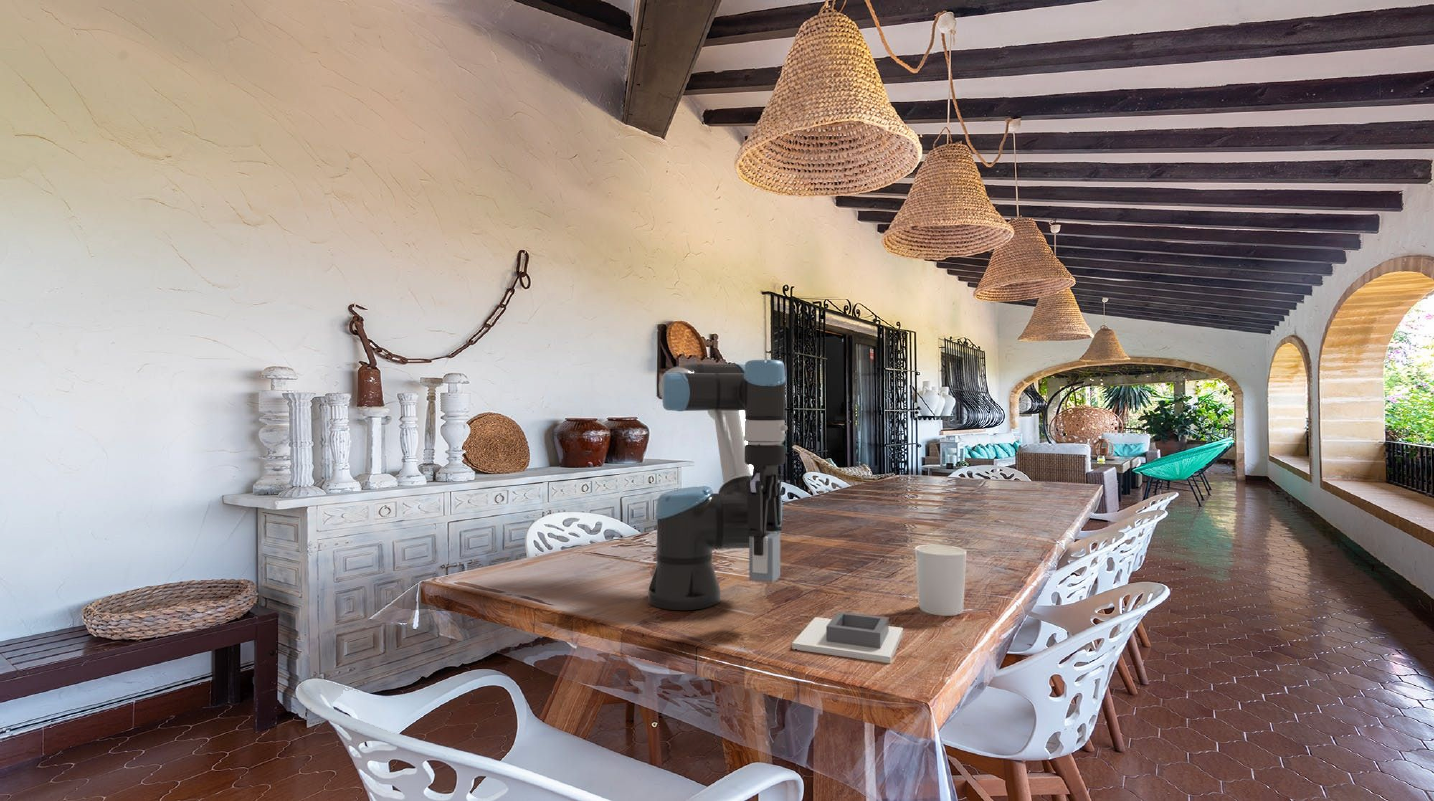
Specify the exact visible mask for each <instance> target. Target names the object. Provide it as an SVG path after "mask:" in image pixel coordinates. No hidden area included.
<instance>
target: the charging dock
mask: <svg viewBox="0 0 1434 801" xmlns="http://www.w3.org/2000/svg"><path fill="white" fill-rule="evenodd" d="M889 621H890V620H889V616H888V617H886V616H878V615H869V614H863V613H853V612H847V611H837V612H836V614H834V616H833V617H832V618H825V617H818V616H816V617H814V618H813V619H812V620H811V622H810V623H808V625H806V627H805V628H804V629H803V630H802V631H801V633H800V634H799V635H798V636H797V637H796V638H795V639H794V640H793V641H792V643H791V645H792V646H791V649H792V650H795V649H797V650H798V651H803V652H810V653H817V654H824V655H830V656H831V655H832V656H836V657H838V656H839V657H845V658H851V659H857V660H866V661H871V662H879V663H884V664H891V662H892V661H893V659H894V655H895V654H896V651H897V649H898V647H899V645H900V642H901V640H902V637H903V635H904V628H903V627H900V626H899V627H897V626H890V625H889V624H890V622H889ZM797 650H796V651H797Z"/></svg>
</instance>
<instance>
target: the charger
mask: <svg viewBox="0 0 1434 801" xmlns="http://www.w3.org/2000/svg"><path fill="white" fill-rule="evenodd" d="M765 537H768V573H767V574H765V573H755V572H753V569H752V537H749V548H748V550H749V552H748V553H749V554H748V555H749V556H748V558H749V560H748V563H749V564H748V569H749V570H748V572H749V573H748V577H749V581H751V582H752V581H754V582H763V583H770V584H771V583H774V582H776V581H777V580H778V579H780V577H781V533H780V534H774V533H766V536H765Z"/></svg>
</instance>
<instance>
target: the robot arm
mask: <svg viewBox="0 0 1434 801" xmlns="http://www.w3.org/2000/svg"><path fill="white" fill-rule="evenodd" d="M786 381H787V377H786V370H785V364H784V362H783V361H782V360H780V359H779V360H778V359H751V360H748V361H746V362H745V364H738V363H737V362H733V363H688V364H681V365H677V366H674V367H672V368H669V369H668V370H666V371H665V372H663V374H662V375H661V376H660V378H659V381H658V382H659V383H658V391H659V395H660V397H661V399H662V400H661V402H662V407H663V409H664V410H666V411H672V412H673V411H674V412H690V411H692V412H693V411H694V412H697V411H698V412H699V411H707V413H708V415H709V417H710V418H711V419H712V420H714V424H715V430H716V431H715V432H716V439H717V445H718V447H717V448H718V453H719V460H720V467H721V475H722V482H723V484H722V485H721V486H720V487H719V489H718V492H717V493H716V492H715V493H714V492H713V490H712V487H711V486H707V485H705V486H704V485H703V486H701V485H700V486H690V487H683V488H677V489H672V490H669V491H666V492H664V493H662V494H660V495H659V497H658V498H657V501H656V514H655V519H656V564H655V567H654V571H653V574H652V578H651V581H650V583H649V586H648V587H649V588H648V591H647V592H648V593H647V596H648V597H647V601H648V603H649V604H650V605H651V606H653V607H656V608H659V609H662V610H663V609H664V610H670V611H693V610H694V611H695V610H702V609H706V608H710V607H713V606H715V605H717V604H718V603H720V601H721V587H720V584H719V581H718V578H717V573H716V572H715V567H714V565H713V550H732V549H733V550H735V549H736V550H737V549H749V537H752V569H753V572H755V573H765V574H767V573H768V537H765V536H766V533H774V534H780V535H781V531H782V529H783V528H782V522H783V499H782V487H781V486H782V478H783V476H782V474H781V473H780V474H779V473H778V471H777V466H783V465H784V464H785V463H786V446H785V445H784V444H783V442H785V439H786V436H785V435H786V431H787V430H788V425H786V422H785V421H786Z"/></svg>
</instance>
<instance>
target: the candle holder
mask: <svg viewBox="0 0 1434 801" xmlns="http://www.w3.org/2000/svg"><path fill="white" fill-rule="evenodd" d="M914 552H915V565H916V567H915V568H916V582H917V585H916V586H917V596H918V597H917V599H918V608H919V610H921V611H922V612H923V613H926V614H929V615H934V616H941V617H942V616H943V617H954V616H959V615H961V614H963V612H964V603H965V602H964V600H965V587H966V586H965V585H966V583H965V582H966V566H967V564H966V563H967V553H968V552H967V550H966V549H965V548H963V547H958V546H953V545H948V544H946V545H945V544H922V545H917V546H915V548H914ZM958 614H959V615H958Z"/></svg>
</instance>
